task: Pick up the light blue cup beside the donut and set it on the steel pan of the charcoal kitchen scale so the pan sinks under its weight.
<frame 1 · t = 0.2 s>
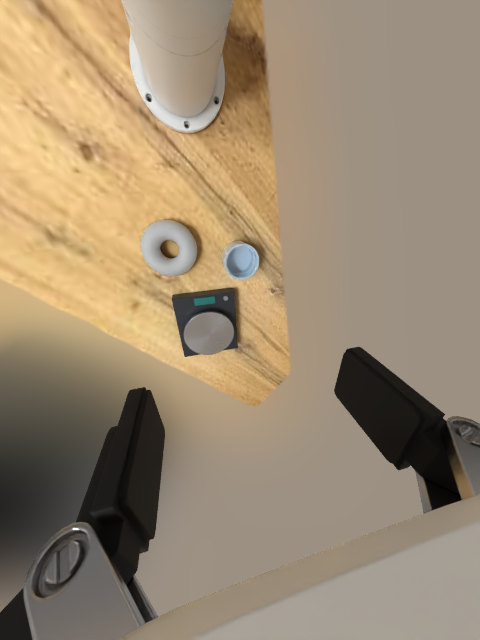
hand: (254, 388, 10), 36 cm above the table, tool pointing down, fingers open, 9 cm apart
scale: (207, 320, 49), on the table
donut: (170, 247, 40), on the table
light blue cup: (237, 257, 43), on the table
scale pan: (209, 333, 45), point 4 cm above the table, slide at 0.0 cm
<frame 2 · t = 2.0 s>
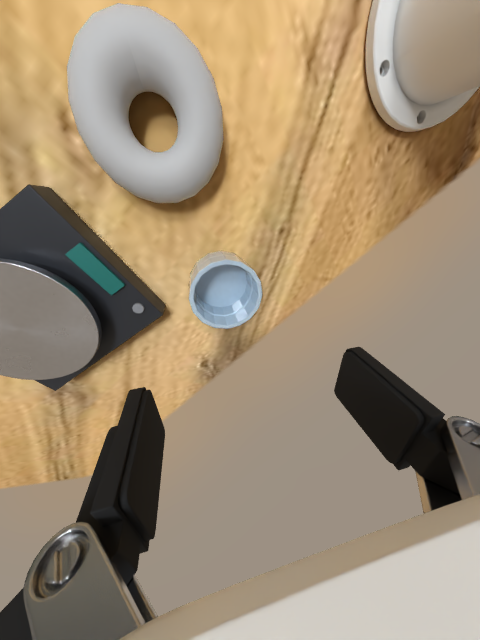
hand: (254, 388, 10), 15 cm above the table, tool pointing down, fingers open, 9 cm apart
scale: (60, 299, 20), on the table
donut: (157, 131, 16), on the table
light blue cup: (220, 281, 23), on the table
scale pan: (23, 326, 17), point 4 cm above the table, slide at 0.0 cm
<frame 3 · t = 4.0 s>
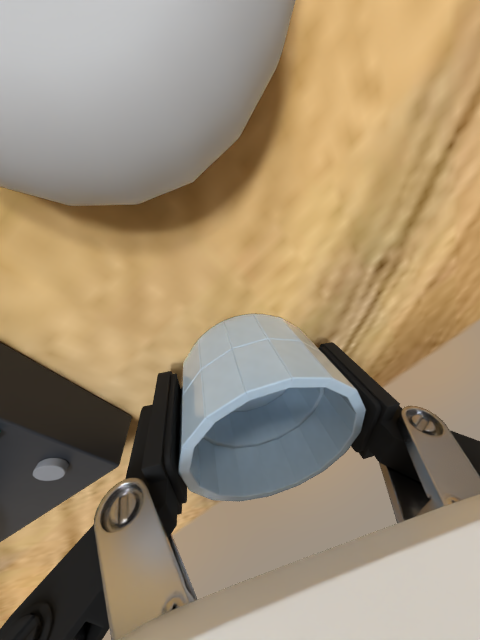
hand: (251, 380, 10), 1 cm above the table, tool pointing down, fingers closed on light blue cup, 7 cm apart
light blue cup: (247, 366, 11), on the table, touching gripper
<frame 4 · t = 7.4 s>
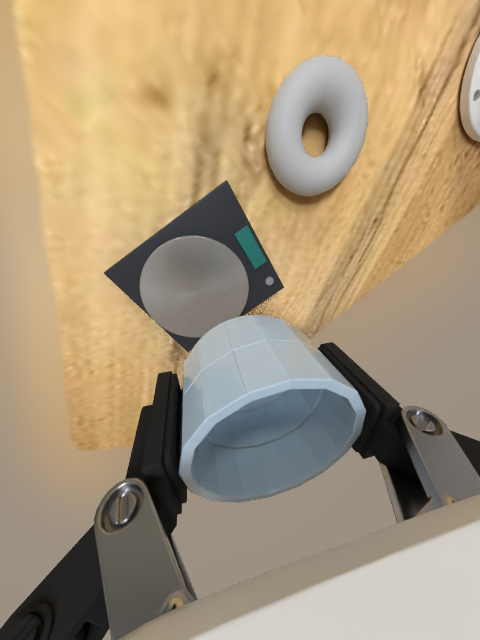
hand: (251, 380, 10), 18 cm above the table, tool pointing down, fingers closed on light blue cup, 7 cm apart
scale: (202, 274, 25), on the table
donut: (306, 141, 21), on the table
light blue cup: (247, 367, 11), point 17 cm above the table, touching gripper
scale pan: (197, 291, 22), point 4 cm above the table, slide at 0.0 cm
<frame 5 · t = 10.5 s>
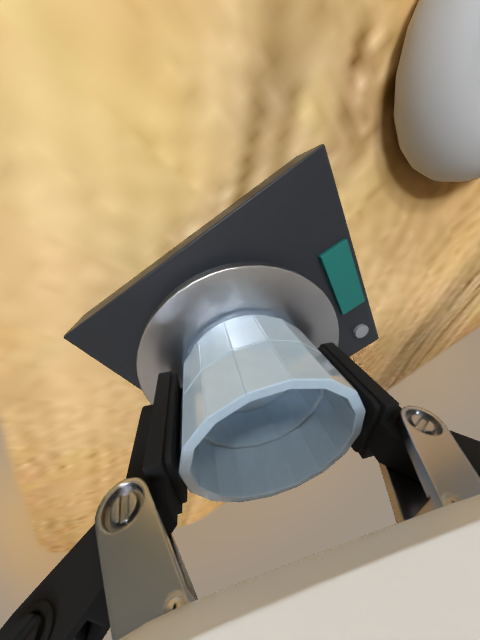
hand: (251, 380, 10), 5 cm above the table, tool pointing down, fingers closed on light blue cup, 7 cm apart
scale: (243, 319, 15), on the table
donut: (459, 73, 11), on the table
light blue cup: (247, 367, 11), point 4 cm above the table, touching gripper, scale pan
scale pan: (245, 362, 11), point 4 cm above the table, slide at -0.2 cm, touching light blue cup
when the fingers open (5 cm above the table, at t = 10.8 s): light blue cup stays where it is, resting on scale pan.
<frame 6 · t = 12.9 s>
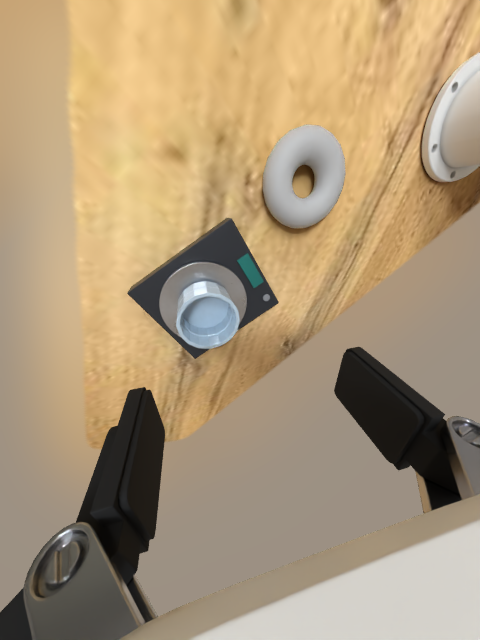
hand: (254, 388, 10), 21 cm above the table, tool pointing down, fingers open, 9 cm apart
scale: (208, 292, 29), on the table
donut: (296, 183, 26), on the table
light blue cup: (205, 306, 26), point 4 cm above the table, touching scale pan
scale pan: (205, 304, 26), point 3 cm above the table, slide at -1.0 cm, touching light blue cup
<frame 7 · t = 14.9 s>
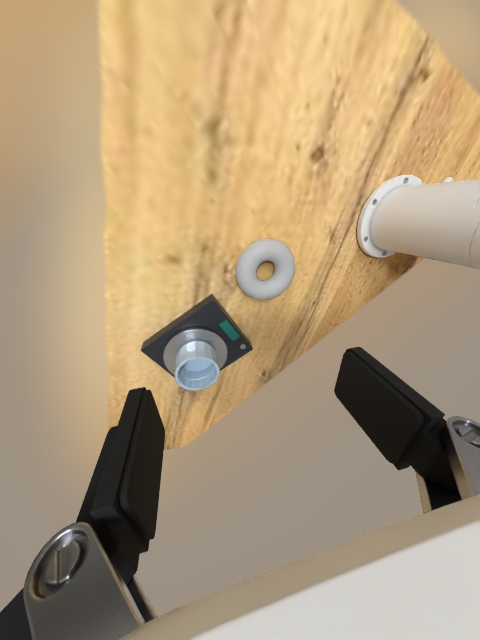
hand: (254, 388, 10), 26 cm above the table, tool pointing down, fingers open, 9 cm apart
scale: (200, 342, 39), on the table
donut: (262, 268, 35), on the table
light blue cup: (196, 356, 36), point 4 cm above the table, touching scale pan
scale pan: (196, 355, 36), point 3 cm above the table, slide at -1.0 cm, touching light blue cup
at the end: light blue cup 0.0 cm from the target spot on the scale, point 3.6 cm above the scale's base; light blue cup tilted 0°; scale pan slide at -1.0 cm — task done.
